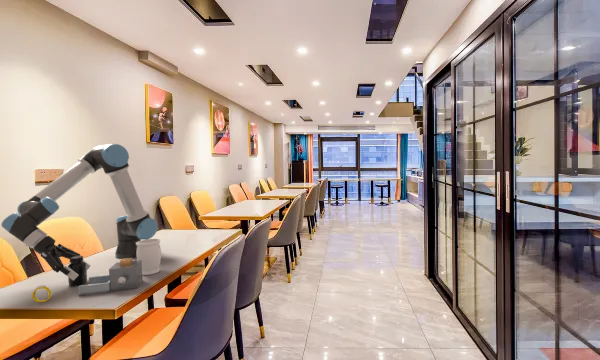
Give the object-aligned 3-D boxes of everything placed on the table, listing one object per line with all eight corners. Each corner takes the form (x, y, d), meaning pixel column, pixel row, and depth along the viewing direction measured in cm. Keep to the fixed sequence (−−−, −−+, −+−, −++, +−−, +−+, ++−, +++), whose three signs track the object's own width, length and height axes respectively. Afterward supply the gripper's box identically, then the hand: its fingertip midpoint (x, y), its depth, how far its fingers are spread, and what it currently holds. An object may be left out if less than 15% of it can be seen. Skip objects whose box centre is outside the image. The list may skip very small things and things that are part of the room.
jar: (146, 277, 151) (144, 244, 150) (133, 274, 156) (130, 242, 155) (166, 270, 160) (164, 239, 159) (153, 267, 165) (151, 237, 164)
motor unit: (90, 285, 143) (88, 260, 142) (143, 279, 148) (141, 255, 147) (76, 298, 129) (74, 270, 129) (135, 290, 134) (133, 263, 134)
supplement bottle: (89, 283, 146) (87, 256, 145) (71, 288, 141) (68, 260, 140) (84, 280, 150) (83, 254, 150) (66, 284, 145) (64, 257, 145)
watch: (31, 304, 126) (29, 288, 125) (36, 301, 128) (34, 286, 128) (49, 301, 127) (46, 286, 126) (53, 298, 129) (51, 283, 129)
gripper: (48, 242, 153) (87, 270, 157) (16, 256, 129) (63, 289, 133) (60, 229, 154) (99, 258, 158) (30, 241, 130) (77, 275, 134)
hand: (82, 272), depth 146 cm, fingers open, 13 cm apart
